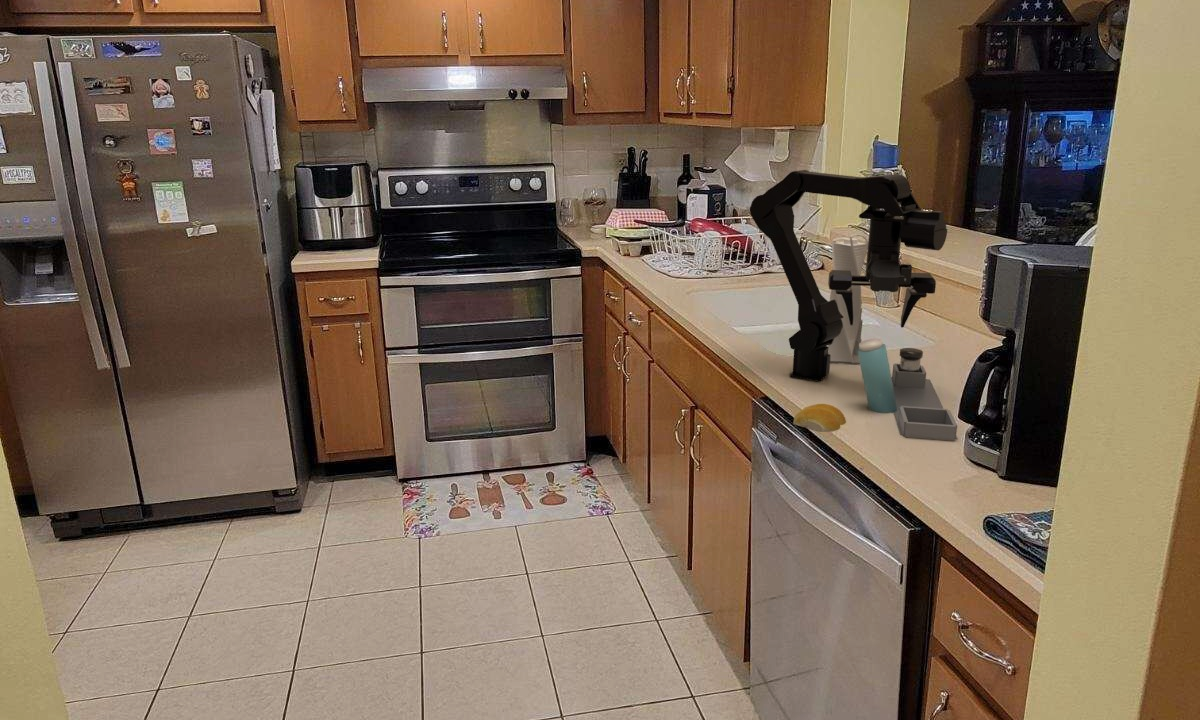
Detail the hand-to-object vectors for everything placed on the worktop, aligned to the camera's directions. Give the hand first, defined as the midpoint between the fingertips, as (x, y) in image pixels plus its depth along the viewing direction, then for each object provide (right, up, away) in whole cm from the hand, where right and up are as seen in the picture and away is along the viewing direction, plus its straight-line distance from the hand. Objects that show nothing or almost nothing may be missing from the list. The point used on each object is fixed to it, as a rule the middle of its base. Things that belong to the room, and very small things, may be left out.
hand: (876, 325), depth 158 cm
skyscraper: (0, -7, +23) cm, 24 cm away
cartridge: (-2, -16, -8) cm, 18 cm away
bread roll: (-15, -19, -14) cm, 27 cm away
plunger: (+8, -10, +5) cm, 14 cm away
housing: (+5, -16, -6) cm, 18 cm away
